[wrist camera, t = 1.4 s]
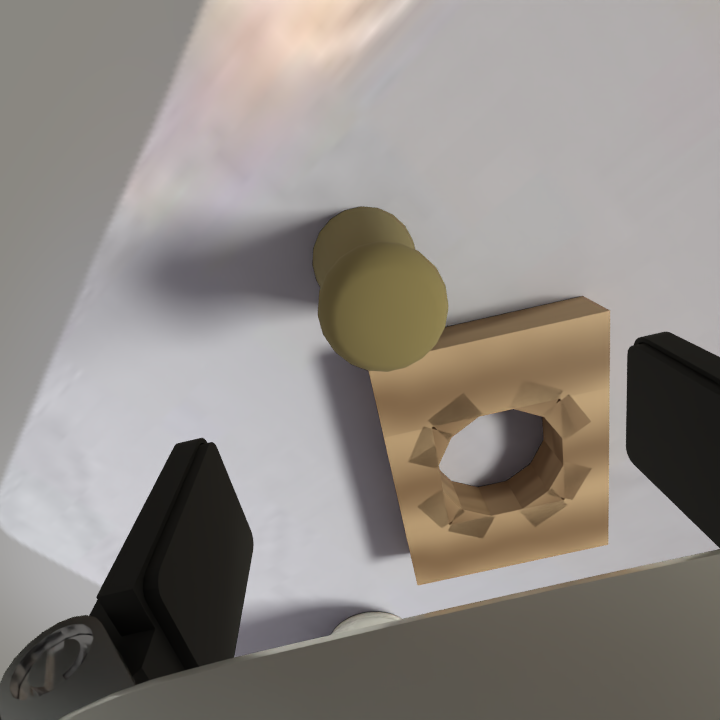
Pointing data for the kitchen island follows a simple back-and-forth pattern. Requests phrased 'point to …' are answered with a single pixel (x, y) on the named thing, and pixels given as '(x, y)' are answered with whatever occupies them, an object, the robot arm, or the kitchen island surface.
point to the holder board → (491, 395)
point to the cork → (377, 291)
